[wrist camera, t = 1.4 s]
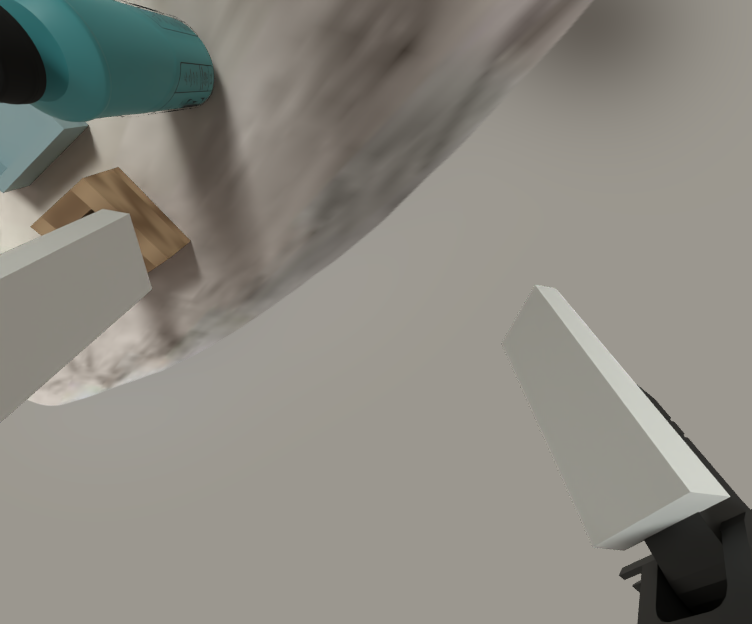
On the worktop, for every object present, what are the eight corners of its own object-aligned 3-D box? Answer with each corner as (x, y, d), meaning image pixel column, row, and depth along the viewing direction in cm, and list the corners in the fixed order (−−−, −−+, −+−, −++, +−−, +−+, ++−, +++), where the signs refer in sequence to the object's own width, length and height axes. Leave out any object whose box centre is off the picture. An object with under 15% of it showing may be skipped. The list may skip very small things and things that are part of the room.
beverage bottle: (180, -3, 26) (-151, -144, 10) (240, 80, 29) (63, 74, 13) (136, 52, 28) (-193, 9, 12) (196, 123, 31) (-1, 163, 15)
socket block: (68, 211, 37) (30, 226, 33) (118, 167, 34) (82, 178, 30) (141, 274, 42) (115, 294, 38) (190, 241, 39) (168, 258, 35)
